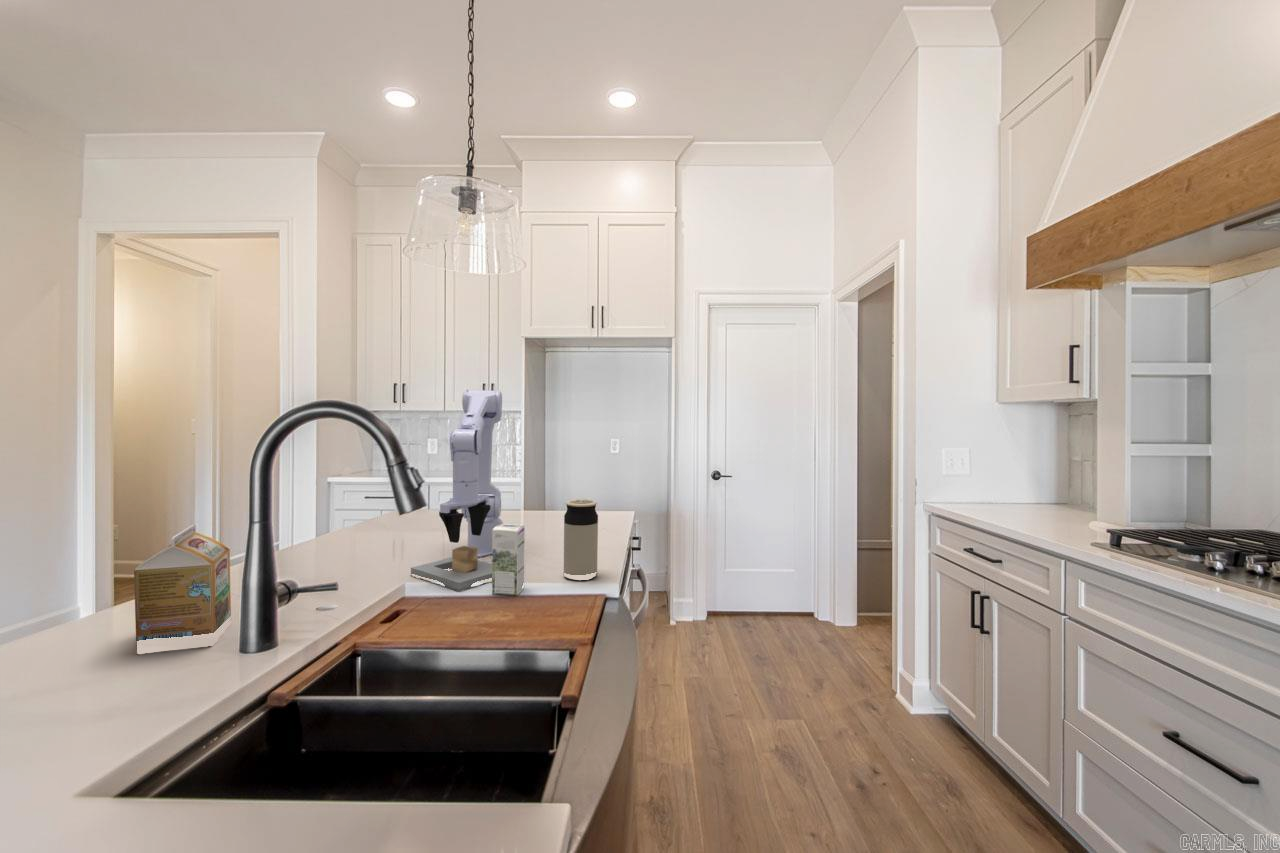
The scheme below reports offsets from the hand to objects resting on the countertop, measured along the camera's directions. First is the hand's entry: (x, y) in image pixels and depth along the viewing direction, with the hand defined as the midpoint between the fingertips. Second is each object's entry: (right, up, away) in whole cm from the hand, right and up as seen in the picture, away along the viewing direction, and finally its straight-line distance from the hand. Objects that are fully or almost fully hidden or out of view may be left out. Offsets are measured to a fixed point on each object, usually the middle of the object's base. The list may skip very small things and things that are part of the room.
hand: (465, 538), depth 141 cm
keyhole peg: (0, -9, 0) cm, 9 cm away
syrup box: (+12, -10, -8) cm, 18 cm away
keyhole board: (-2, -9, +2) cm, 10 cm away
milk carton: (-38, -11, -36) cm, 53 cm away
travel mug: (+27, -10, +3) cm, 29 cm away
